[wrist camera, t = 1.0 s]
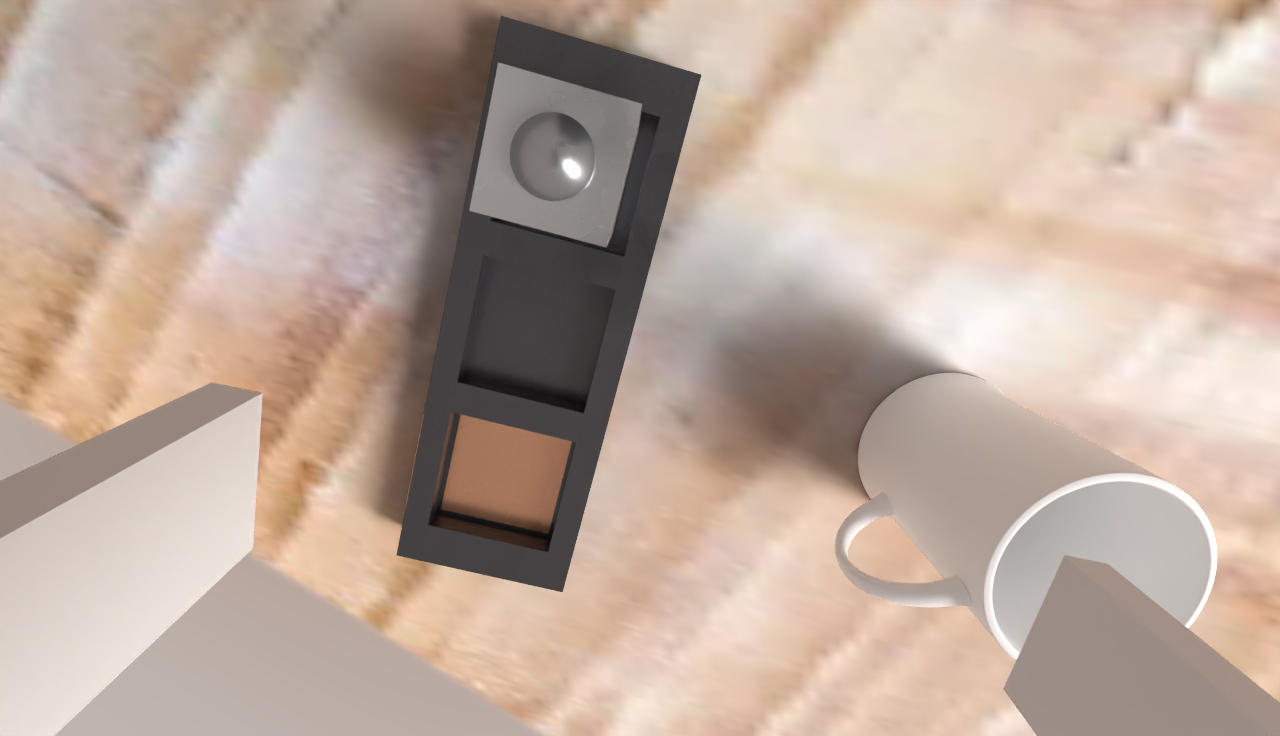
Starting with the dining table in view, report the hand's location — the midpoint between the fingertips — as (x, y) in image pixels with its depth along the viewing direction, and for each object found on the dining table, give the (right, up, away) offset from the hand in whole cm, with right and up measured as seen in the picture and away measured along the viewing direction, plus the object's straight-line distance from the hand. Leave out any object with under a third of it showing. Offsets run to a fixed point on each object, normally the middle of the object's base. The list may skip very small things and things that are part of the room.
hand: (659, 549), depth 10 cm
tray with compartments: (-5, +5, +21) cm, 22 cm away
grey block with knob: (-3, +12, +18) cm, 22 cm away
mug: (+14, -2, +23) cm, 27 cm away
